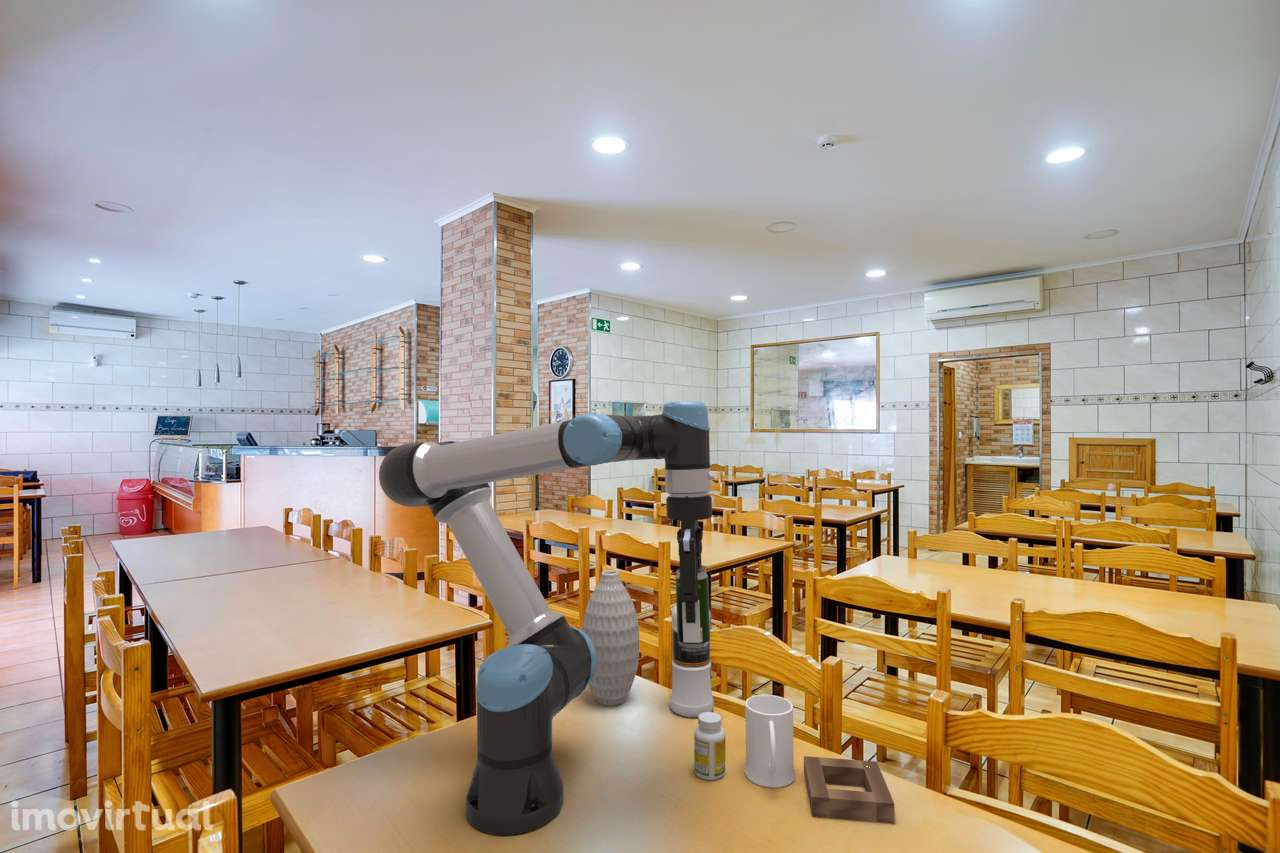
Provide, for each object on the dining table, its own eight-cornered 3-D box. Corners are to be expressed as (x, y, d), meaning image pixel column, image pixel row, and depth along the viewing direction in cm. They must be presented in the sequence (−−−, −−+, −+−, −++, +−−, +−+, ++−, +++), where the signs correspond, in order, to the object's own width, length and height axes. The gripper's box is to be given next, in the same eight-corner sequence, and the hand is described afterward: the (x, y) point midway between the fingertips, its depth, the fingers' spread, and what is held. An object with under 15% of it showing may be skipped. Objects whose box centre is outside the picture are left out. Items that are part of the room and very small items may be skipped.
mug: (796, 802, 98) (796, 726, 98) (742, 796, 99) (741, 721, 100) (794, 763, 109) (793, 695, 109) (745, 758, 111) (745, 691, 111)
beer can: (714, 647, 99) (712, 572, 99) (682, 650, 98) (680, 574, 98) (704, 636, 104) (702, 565, 105) (674, 640, 103) (671, 568, 104)
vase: (619, 718, 127) (619, 581, 127) (570, 704, 134) (569, 574, 134) (650, 695, 138) (649, 569, 138) (603, 683, 144) (602, 563, 145)
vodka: (705, 698, 136) (704, 562, 137) (719, 716, 127) (718, 571, 128) (665, 702, 134) (664, 564, 135) (676, 721, 125) (675, 573, 126)
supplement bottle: (695, 781, 104) (695, 724, 104) (693, 764, 109) (692, 709, 109) (727, 781, 104) (727, 724, 104) (723, 764, 109) (723, 709, 109)
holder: (812, 816, 94) (811, 796, 94) (803, 773, 106) (803, 756, 106) (894, 823, 92) (894, 803, 92) (877, 779, 104) (876, 761, 104)
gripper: (707, 499, 92) (713, 655, 92) (714, 489, 110) (719, 619, 110) (658, 500, 93) (663, 654, 93) (672, 490, 112) (677, 619, 111)
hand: (693, 635), depth 101 cm, fingers closed on beer can, 5 cm apart
